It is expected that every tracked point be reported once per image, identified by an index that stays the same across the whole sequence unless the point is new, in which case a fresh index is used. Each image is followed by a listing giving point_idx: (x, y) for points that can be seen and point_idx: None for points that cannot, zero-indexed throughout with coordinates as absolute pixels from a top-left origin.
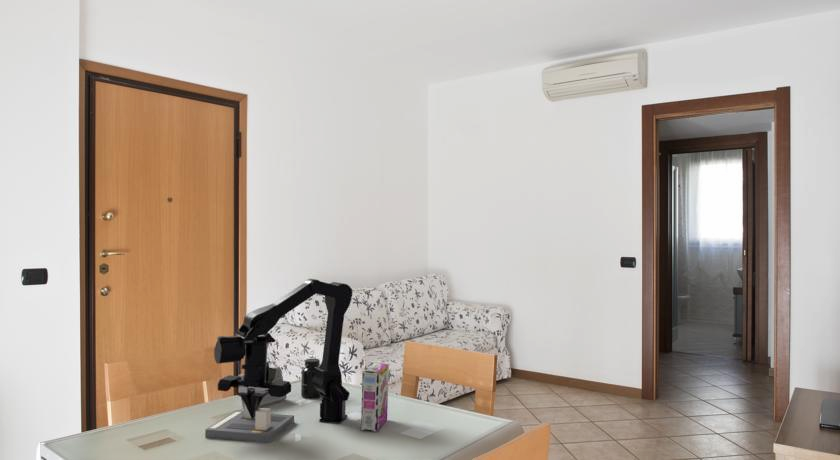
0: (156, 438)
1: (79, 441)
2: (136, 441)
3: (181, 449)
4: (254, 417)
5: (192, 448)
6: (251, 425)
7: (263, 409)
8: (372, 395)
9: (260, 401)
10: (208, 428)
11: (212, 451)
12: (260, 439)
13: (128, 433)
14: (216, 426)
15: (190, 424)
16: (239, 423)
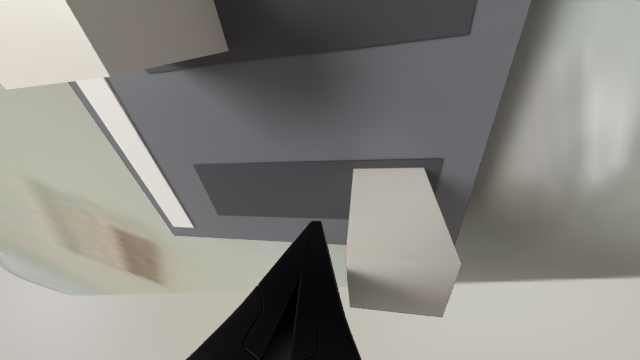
0: (104, 239)
1: (28, 264)
2: (96, 256)
3: (221, 280)
4: (223, 46)
5: (238, 275)
6: (302, 172)
7: (392, 279)
8: None
9: (349, 340)
10: (172, 226)
11: None
12: None
13: (21, 223)
14: (177, 210)
15: (17, 122)
16: (221, 154)
